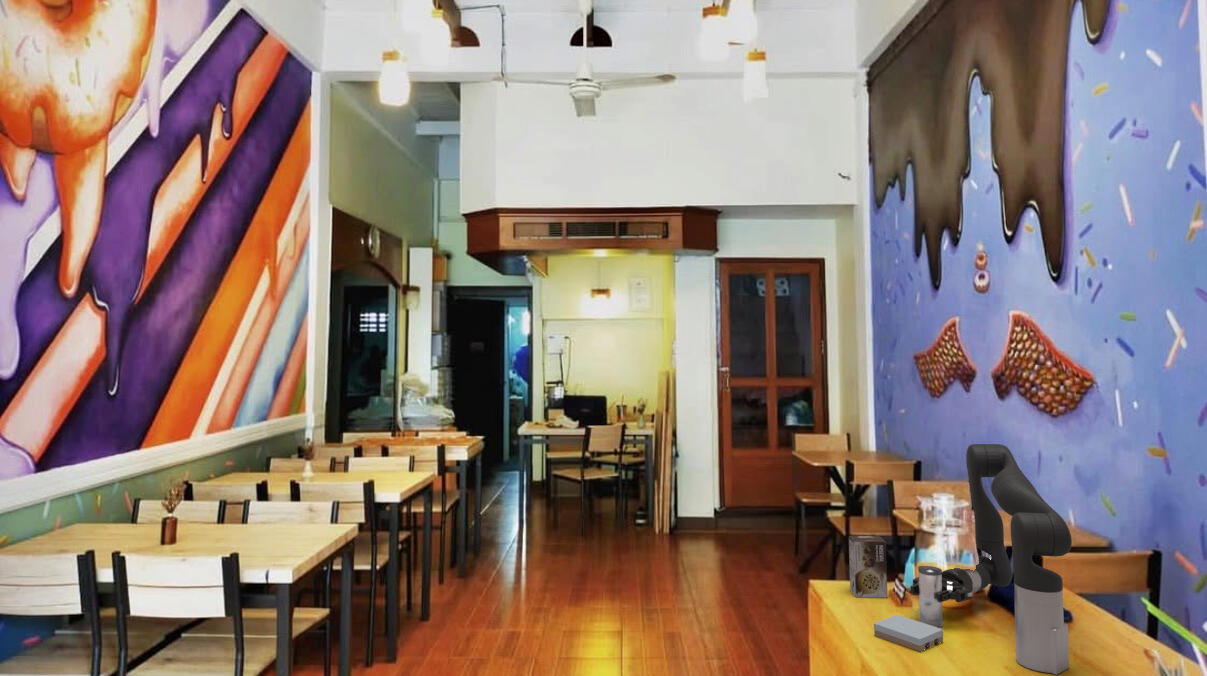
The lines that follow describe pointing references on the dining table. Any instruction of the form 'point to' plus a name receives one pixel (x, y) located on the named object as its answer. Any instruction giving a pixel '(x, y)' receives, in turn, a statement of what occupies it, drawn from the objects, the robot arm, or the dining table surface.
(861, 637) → the dining table surface
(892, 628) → the block
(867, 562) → the coffee box
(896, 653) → the dining table surface
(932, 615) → the canister
